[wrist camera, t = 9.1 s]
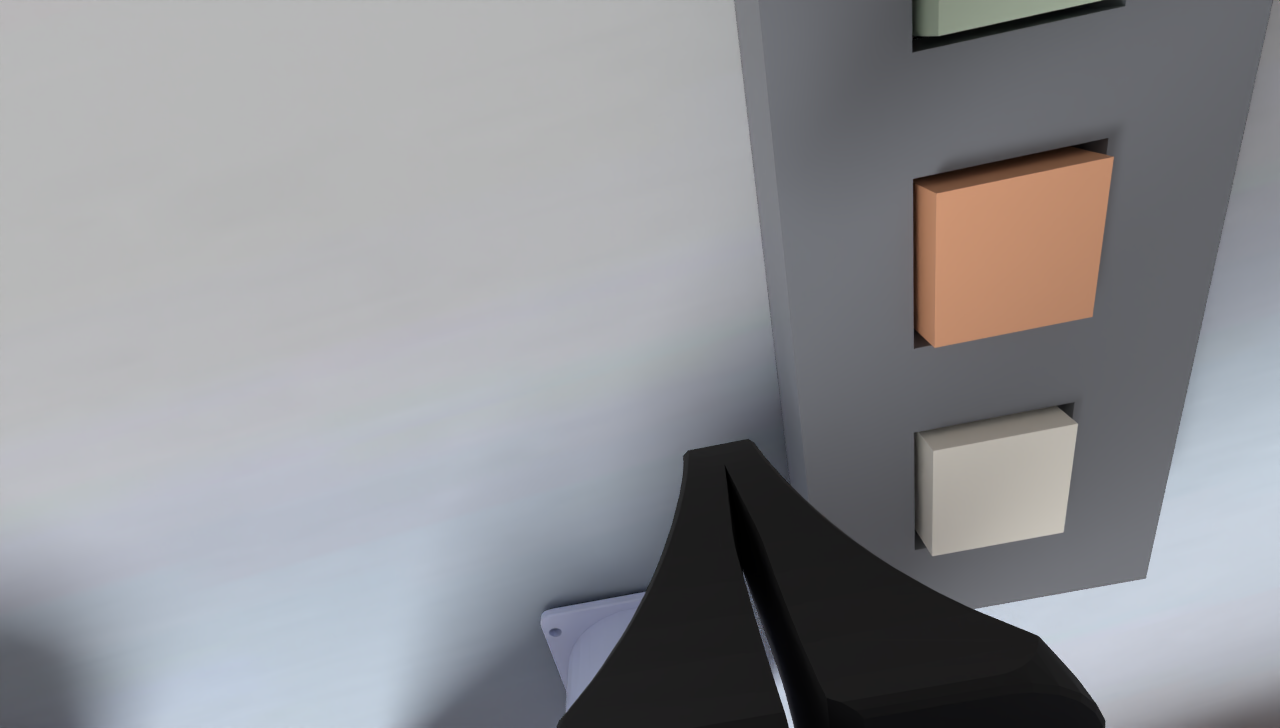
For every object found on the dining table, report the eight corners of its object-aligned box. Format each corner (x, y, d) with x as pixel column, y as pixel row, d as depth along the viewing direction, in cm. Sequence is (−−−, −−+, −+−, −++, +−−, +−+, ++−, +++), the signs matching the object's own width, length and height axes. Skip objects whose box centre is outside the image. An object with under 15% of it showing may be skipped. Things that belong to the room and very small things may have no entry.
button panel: (1091, 523, 26) (1145, 578, 24) (800, 576, 27) (822, 635, 24) (1248, -471, 14) (1403, -593, 11) (695, -333, 14) (716, -416, 12)
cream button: (1010, 474, 25) (1063, 532, 22) (894, 496, 25) (932, 556, 22) (1018, 374, 23) (1078, 423, 20) (892, 399, 23) (933, 451, 20)
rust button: (1025, 278, 21) (1092, 316, 18) (890, 305, 21) (934, 347, 18) (1037, 138, 19) (1113, 156, 16) (887, 170, 19) (936, 193, 16)
